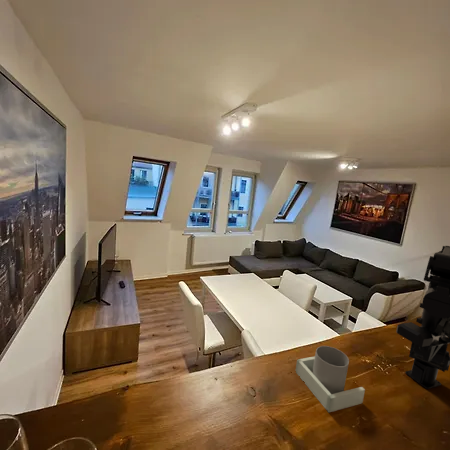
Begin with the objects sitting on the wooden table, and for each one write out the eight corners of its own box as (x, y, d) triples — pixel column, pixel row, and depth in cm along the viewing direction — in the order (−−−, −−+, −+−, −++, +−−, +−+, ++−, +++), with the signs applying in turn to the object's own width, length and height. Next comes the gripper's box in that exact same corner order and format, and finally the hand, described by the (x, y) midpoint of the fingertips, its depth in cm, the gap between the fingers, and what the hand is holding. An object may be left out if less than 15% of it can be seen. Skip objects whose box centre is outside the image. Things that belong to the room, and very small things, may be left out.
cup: (319, 401, 65) (325, 366, 63) (305, 376, 73) (310, 345, 71) (349, 400, 66) (356, 366, 64) (332, 376, 74) (338, 345, 72)
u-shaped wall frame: (324, 365, 78) (326, 354, 77) (362, 403, 65) (364, 389, 64) (295, 371, 74) (297, 359, 74) (328, 412, 61) (331, 398, 61)
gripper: (454, 326, 51) (437, 392, 53) (505, 317, 57) (488, 377, 60) (401, 301, 61) (389, 358, 64) (449, 296, 68) (436, 348, 70)
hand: (426, 360), depth 64 cm, fingers closed
